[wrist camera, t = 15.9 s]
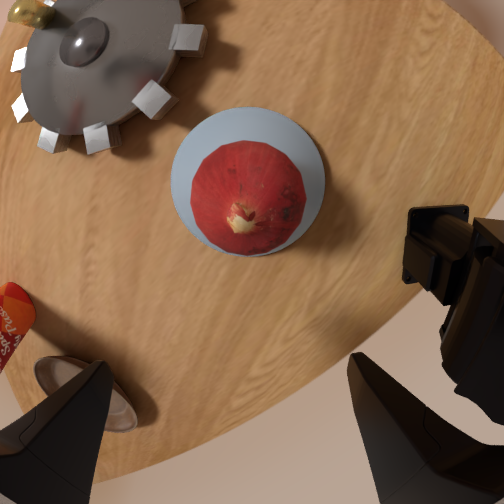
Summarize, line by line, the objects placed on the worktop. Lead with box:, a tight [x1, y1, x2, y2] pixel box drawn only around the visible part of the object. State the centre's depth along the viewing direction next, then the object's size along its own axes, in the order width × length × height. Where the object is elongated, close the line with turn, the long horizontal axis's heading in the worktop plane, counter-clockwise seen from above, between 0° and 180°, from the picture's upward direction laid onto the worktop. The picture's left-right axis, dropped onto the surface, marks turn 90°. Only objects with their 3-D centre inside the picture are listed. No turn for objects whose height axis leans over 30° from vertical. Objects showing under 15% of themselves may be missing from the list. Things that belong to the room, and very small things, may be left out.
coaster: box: [171, 107, 325, 257], centre depth 18 cm, size 10×10×1 cm
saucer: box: [33, 356, 138, 433], centre depth 27 cm, size 15×15×3 cm
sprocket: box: [8, 0, 208, 155], centre depth 11 cm, size 16×16×5 cm
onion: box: [190, 140, 307, 256], centre depth 14 cm, size 6×6×8 cm
